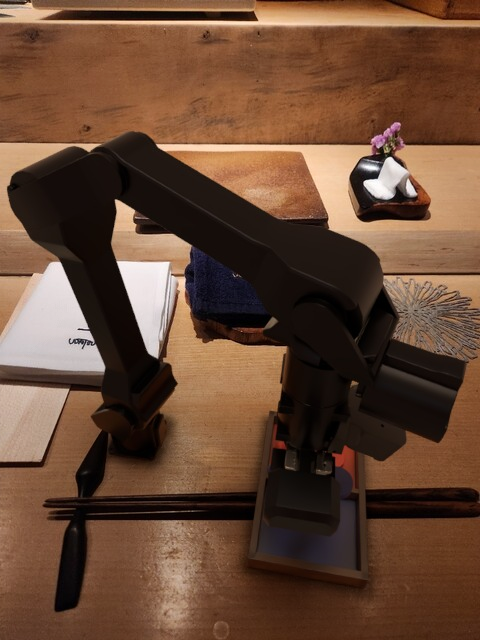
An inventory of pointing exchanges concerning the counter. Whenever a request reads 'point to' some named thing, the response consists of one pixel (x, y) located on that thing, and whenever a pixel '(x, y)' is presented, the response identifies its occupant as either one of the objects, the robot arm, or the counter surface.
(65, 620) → the counter surface
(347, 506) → the sorting tray
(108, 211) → the robot arm
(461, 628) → the counter surface
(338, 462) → the vermilion spoon
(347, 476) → the indigo spoon
